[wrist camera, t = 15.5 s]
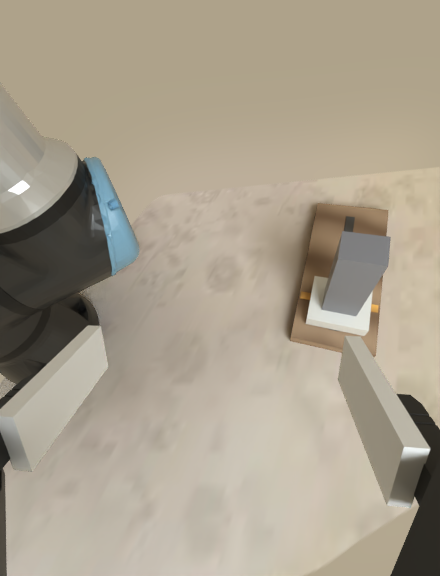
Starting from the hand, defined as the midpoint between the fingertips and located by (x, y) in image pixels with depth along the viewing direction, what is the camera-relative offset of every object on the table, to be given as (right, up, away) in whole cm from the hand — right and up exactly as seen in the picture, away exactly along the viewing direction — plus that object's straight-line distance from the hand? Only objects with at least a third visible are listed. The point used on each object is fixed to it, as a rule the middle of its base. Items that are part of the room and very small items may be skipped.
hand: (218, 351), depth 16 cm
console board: (+17, +5, +27) cm, 32 cm away
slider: (+15, +1, +22) cm, 27 cm away
